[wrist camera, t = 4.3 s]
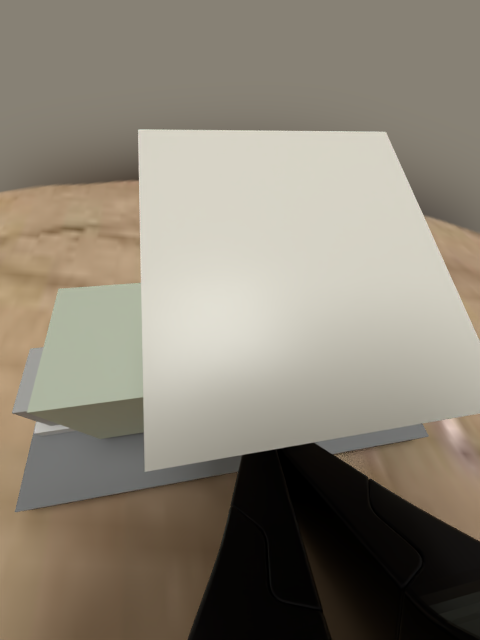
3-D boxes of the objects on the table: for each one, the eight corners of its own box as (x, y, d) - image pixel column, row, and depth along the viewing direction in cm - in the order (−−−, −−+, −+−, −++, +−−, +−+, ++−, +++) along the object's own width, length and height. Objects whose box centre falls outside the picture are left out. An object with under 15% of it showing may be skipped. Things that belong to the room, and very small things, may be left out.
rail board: (412, 439, 17) (555, 409, 10) (33, 509, 13) (-169, 539, 6) (357, 320, 21) (426, 240, 14) (66, 351, 18) (-31, 268, 11)
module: (278, 411, 15) (509, 408, 3) (198, 423, 14) (144, 471, 3) (263, 322, 16) (380, 121, 5) (190, 329, 16) (138, 116, 4)
